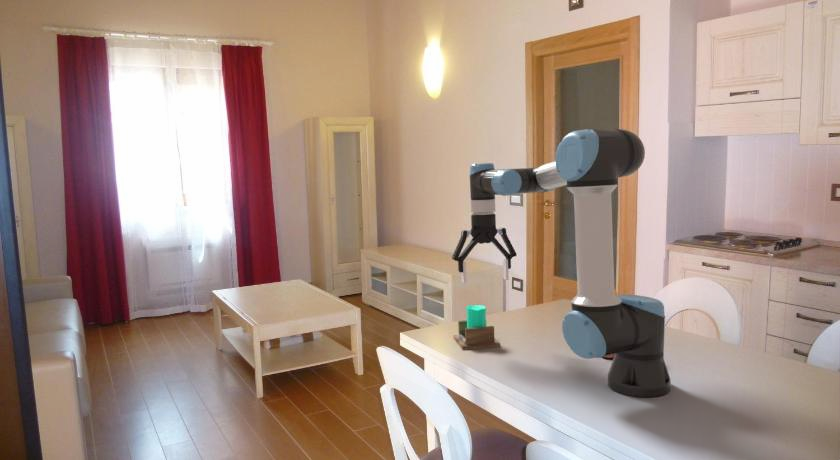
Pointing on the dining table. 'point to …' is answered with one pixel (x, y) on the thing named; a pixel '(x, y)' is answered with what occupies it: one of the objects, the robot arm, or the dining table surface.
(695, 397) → the dining table surface
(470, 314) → the candle
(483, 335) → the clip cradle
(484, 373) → the dining table surface
